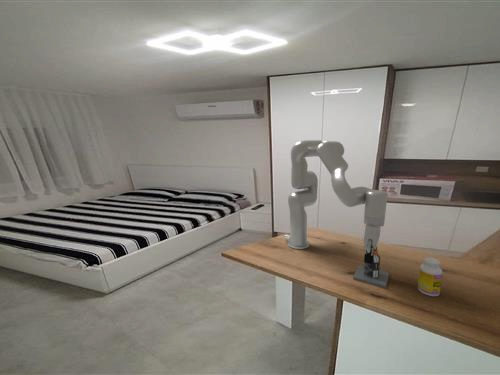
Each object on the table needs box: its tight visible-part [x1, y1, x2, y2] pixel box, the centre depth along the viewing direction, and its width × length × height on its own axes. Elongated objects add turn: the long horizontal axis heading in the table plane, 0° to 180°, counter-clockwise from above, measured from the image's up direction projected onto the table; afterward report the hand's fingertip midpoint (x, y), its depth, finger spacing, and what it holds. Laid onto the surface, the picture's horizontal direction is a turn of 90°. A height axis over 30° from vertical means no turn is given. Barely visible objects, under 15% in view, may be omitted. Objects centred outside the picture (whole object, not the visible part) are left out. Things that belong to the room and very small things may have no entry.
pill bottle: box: [363, 248, 381, 278], centre depth 97 cm, size 6×6×11 cm
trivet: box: [353, 264, 390, 289], centre depth 98 cm, size 12×12×1 cm
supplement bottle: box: [417, 257, 443, 297], centre depth 86 cm, size 7×7×13 cm
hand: (370, 258), depth 97 cm, fingers open, 9 cm apart
